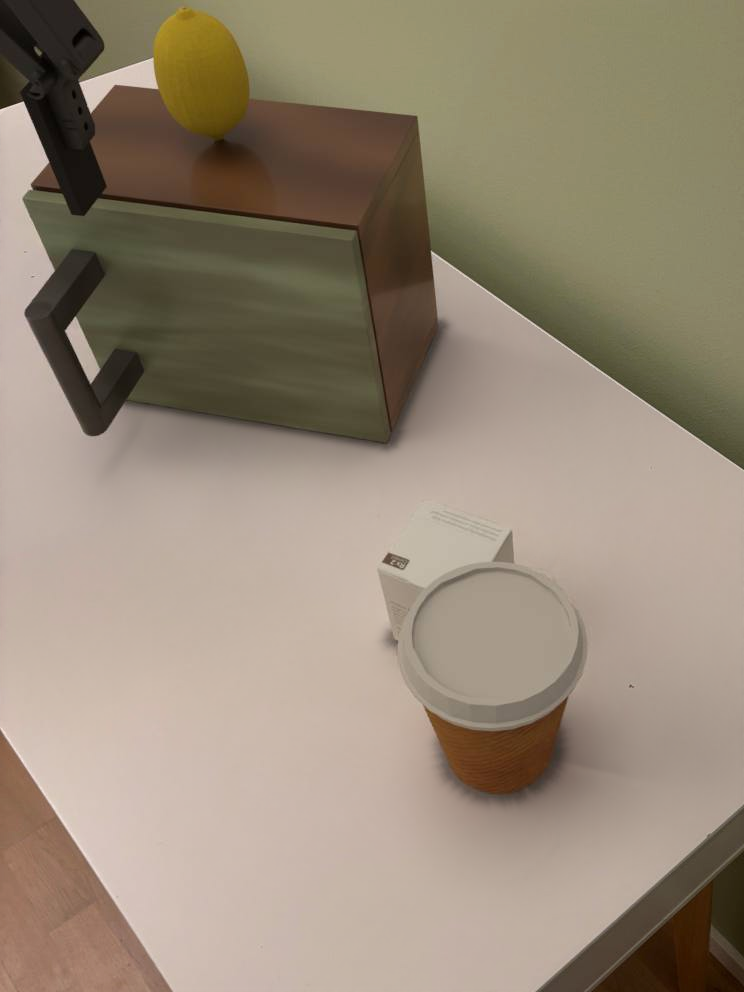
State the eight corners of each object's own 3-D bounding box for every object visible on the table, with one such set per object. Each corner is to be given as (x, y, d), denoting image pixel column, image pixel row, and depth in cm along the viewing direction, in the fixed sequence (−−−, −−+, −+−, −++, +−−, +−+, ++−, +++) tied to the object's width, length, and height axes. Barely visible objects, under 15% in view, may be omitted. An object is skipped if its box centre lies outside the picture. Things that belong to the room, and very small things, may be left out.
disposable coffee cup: (502, 853, 57) (495, 752, 47) (384, 749, 61) (354, 635, 51) (614, 740, 60) (629, 624, 50) (495, 649, 64) (487, 524, 54)
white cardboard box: (518, 600, 66) (516, 526, 60) (476, 674, 63) (469, 604, 57) (434, 570, 68) (424, 495, 62) (390, 640, 65) (374, 568, 59)
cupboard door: (355, 514, 71) (311, 316, 57) (69, 463, 75) (-37, 266, 61) (391, 433, 75) (357, 230, 61) (118, 389, 79) (28, 188, 65)
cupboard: (392, 432, 75) (358, 225, 61) (120, 388, 79) (29, 184, 65) (438, 325, 82) (417, 115, 67) (184, 289, 86) (114, 84, 71)
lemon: (248, 165, 65) (214, 33, 58) (164, 161, 66) (122, 30, 59) (271, 117, 68) (242, -14, 61) (191, 113, 69) (154, -16, 62)
